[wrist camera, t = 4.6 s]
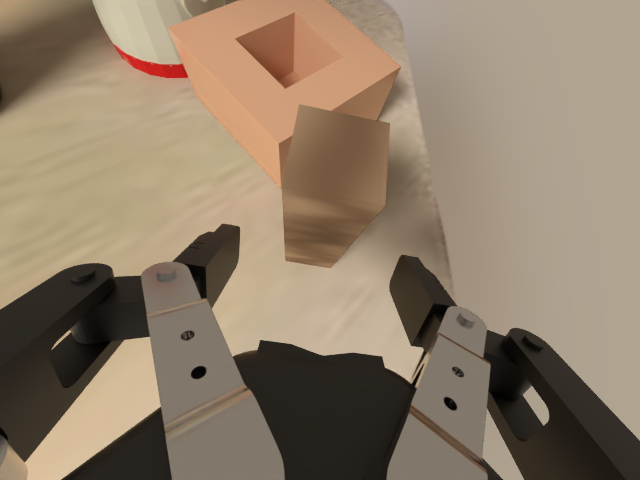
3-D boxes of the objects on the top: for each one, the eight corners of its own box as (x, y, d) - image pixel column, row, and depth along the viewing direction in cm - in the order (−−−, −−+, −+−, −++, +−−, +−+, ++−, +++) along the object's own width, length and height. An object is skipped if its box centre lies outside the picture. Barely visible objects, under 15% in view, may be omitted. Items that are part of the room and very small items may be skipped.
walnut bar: (285, 260, 23) (281, 186, 10) (293, 219, 24) (299, 104, 11) (330, 267, 23) (385, 205, 10) (335, 226, 25) (389, 123, 11)
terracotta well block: (196, 97, 27) (167, 27, 21) (296, 47, 32) (299, -24, 25) (281, 189, 25) (278, 143, 19) (375, 122, 30) (401, 66, 23)
